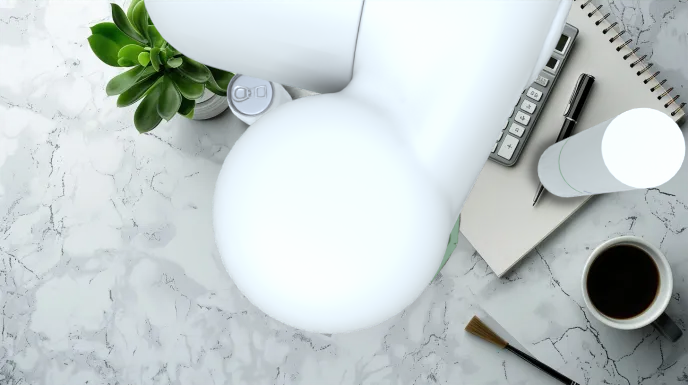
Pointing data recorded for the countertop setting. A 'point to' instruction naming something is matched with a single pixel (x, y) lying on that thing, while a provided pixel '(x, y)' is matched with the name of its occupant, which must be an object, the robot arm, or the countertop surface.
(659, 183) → the cylindrical container
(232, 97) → the can
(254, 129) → the robot arm
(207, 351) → the countertop surface
